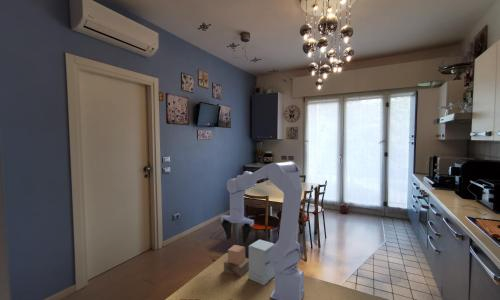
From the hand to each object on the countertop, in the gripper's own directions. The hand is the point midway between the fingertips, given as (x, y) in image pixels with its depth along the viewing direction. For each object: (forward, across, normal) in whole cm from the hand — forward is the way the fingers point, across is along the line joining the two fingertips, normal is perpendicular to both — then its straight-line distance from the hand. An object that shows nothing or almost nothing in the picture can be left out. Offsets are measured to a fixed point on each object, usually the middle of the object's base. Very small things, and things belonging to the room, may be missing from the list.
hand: (237, 240), depth 96 cm
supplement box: (+11, +13, -4) cm, 17 cm away
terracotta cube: (+7, +2, -3) cm, 8 cm away
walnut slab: (+11, +2, -3) cm, 11 cm away
